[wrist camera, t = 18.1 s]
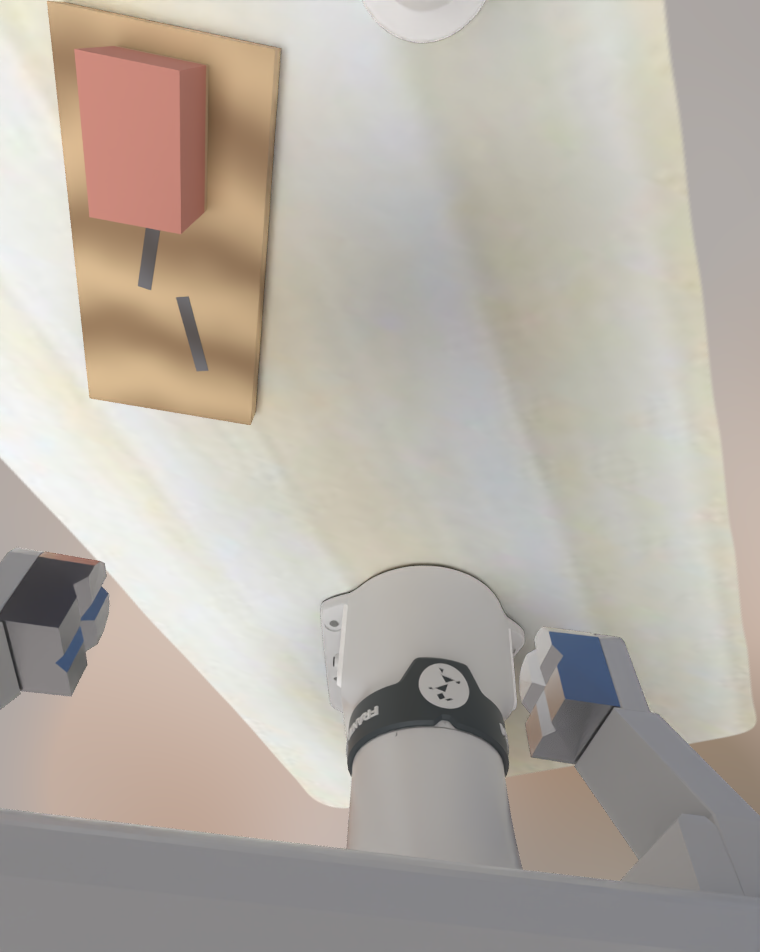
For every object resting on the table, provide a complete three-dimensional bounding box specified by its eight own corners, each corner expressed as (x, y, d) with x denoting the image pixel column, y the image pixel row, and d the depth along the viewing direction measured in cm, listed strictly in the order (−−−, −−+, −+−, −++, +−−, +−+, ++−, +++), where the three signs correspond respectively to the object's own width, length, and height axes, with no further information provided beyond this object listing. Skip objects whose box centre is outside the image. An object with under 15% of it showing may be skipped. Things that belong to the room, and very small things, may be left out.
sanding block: (206, 210, 36) (180, 234, 31) (125, 194, 35) (89, 217, 31) (208, 64, 31) (179, 70, 27) (117, 45, 31) (74, 48, 27)
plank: (255, 412, 45) (250, 425, 44) (99, 385, 44) (89, 398, 43) (280, 48, 33) (274, 49, 31) (63, 2, 32) (46, 1, 30)
